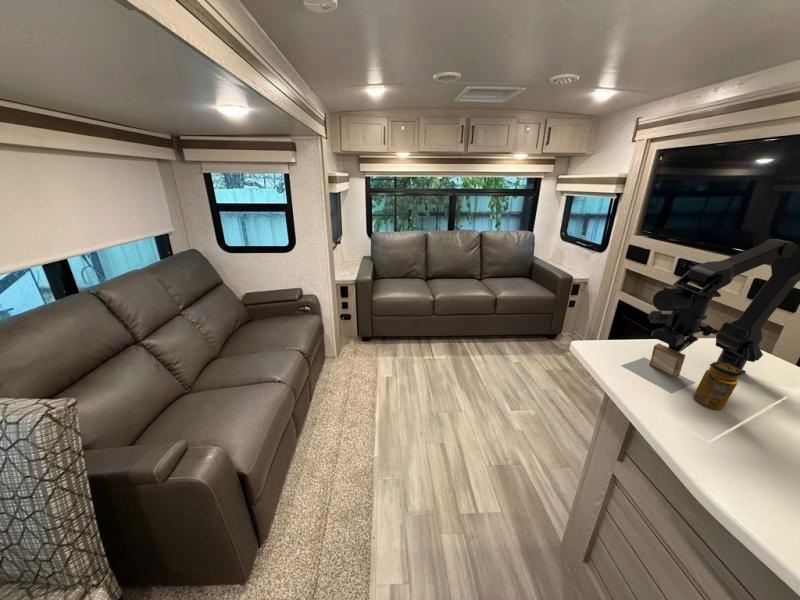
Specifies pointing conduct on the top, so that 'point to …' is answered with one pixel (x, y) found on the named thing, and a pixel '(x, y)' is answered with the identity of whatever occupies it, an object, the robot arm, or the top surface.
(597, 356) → the top surface
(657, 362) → the wooden block
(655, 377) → the mat
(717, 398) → the condiment
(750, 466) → the top surface
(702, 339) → the top surface
